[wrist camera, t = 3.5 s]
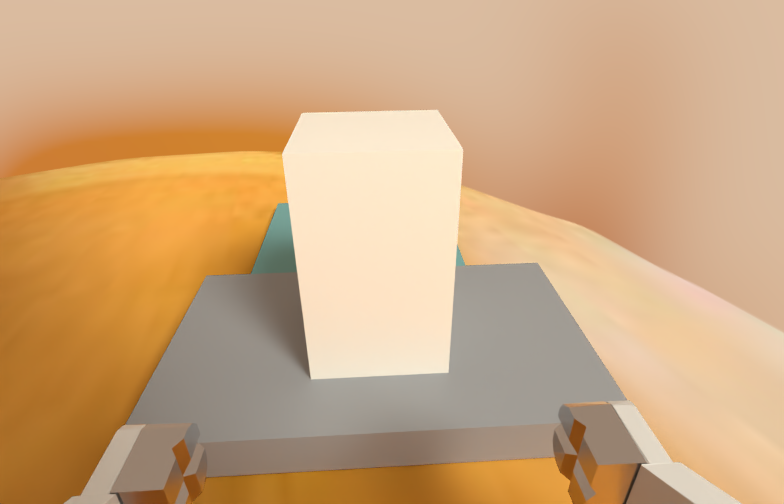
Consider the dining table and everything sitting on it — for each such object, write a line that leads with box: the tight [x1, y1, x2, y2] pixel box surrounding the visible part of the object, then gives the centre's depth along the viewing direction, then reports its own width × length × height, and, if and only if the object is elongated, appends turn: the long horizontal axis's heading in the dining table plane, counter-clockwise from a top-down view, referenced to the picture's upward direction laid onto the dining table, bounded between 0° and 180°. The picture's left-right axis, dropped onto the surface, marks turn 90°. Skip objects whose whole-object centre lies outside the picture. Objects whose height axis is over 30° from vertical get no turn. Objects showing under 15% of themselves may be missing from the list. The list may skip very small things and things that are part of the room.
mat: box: [251, 203, 465, 274], centre depth 35 cm, size 14×13×1 cm
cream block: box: [282, 110, 463, 379], centre depth 20 cm, size 6×6×10 cm
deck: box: [125, 263, 627, 477], centre depth 23 cm, size 20×12×2 cm, turn 93°
